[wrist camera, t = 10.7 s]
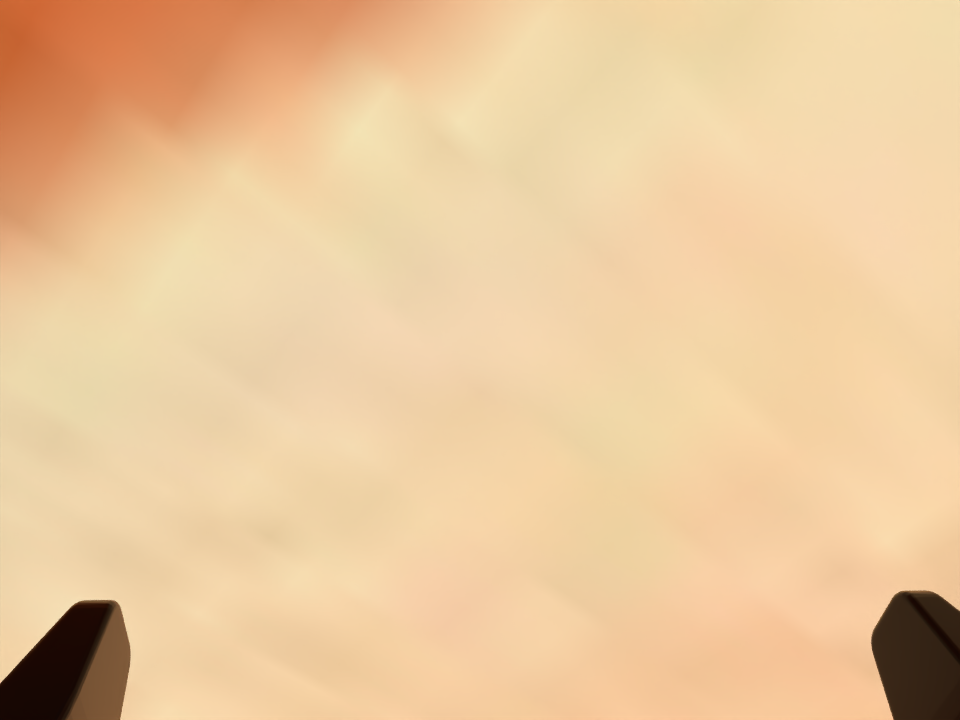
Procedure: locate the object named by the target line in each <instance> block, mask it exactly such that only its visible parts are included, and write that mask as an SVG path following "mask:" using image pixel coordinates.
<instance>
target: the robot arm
mask: <svg viewBox="0 0 960 720" xmlns="http://www.w3.org/2000/svg"><path fill="white" fill-rule="evenodd" d="M871 644H872V651H873V655H874V658H875V662H876V665H877V668H878V671H879V674H880V678H881V681H882V684H883V687H884V691H885V694H886V697H887V700H888V703H889V707H890V710H891V713H892V716H893V720H960V611H959V610H958V609H956V608H955V607H954V606H952V605H951V604H950V603H949V602H947V601H946V600H945V599H943V598H942V597H941V596H939V595H938V594H936V593H934V592H931V591H900V592H899V593H897V594H895V595H894V597H893V598H892V600H891V601H890V603H889V605H888V606H887V608H886V610H885V611H884V613H883V615H882V616H881V618H880V620H879V621H878V623H877V625H876V627H875V628H874V630H873V633H872V640H871ZM129 667H130V644H129V640H128V636H127V632H126V627H125V623H124V619H123V615H122V611H121V608H120V606H119V604H118V603H117V602H116V601H113V600H84V601H80V602H78V603H76V604H74V605H73V606H72V607H71V608H70V609H69V610H68V611H67V612H66V613H65V614H64V615H63V616H62V617H61V618H60V619H59V620H58V622H57V623H56V624H55V625H54V626H53V627H52V628H51V629H50V630H49V631H48V632H47V633H46V635H45V636H44V637H43V638H42V639H41V640H40V641H39V642H38V643H37V644H36V645H35V646H34V648H33V649H32V650H31V651H30V652H29V653H28V654H27V655H26V656H25V657H24V658H23V659H22V661H21V662H20V663H19V664H18V665H17V666H16V667H15V668H14V669H13V670H12V671H11V672H10V674H9V675H8V676H7V677H6V678H5V679H4V680H3V681H2V682H1V683H0V720H120V717H121V712H122V706H123V701H124V695H125V690H126V684H127V679H128V673H129Z"/></svg>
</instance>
